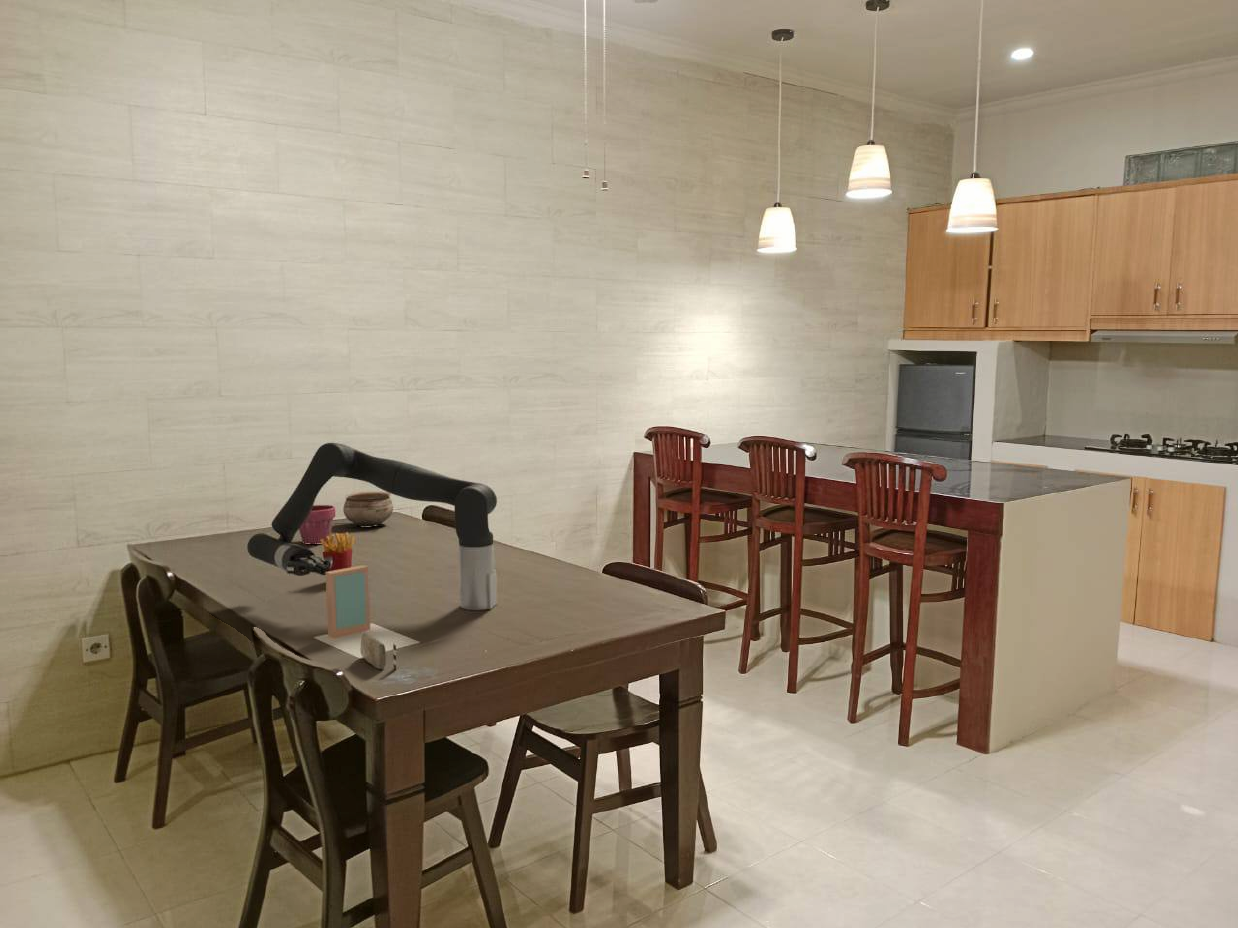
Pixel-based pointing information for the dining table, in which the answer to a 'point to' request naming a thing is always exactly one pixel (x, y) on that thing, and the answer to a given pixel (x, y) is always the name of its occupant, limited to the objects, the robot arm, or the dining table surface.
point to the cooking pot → (368, 508)
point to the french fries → (338, 551)
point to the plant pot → (317, 524)
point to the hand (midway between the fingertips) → (326, 571)
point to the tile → (347, 601)
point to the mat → (383, 635)
